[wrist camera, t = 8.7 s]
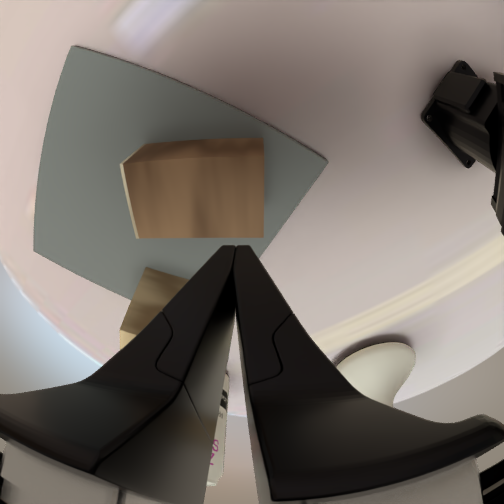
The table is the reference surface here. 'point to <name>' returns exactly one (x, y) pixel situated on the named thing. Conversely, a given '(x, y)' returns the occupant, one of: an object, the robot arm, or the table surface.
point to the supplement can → (219, 439)
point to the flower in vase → (379, 370)
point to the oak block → (148, 301)
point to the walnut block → (196, 188)
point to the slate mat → (122, 146)
